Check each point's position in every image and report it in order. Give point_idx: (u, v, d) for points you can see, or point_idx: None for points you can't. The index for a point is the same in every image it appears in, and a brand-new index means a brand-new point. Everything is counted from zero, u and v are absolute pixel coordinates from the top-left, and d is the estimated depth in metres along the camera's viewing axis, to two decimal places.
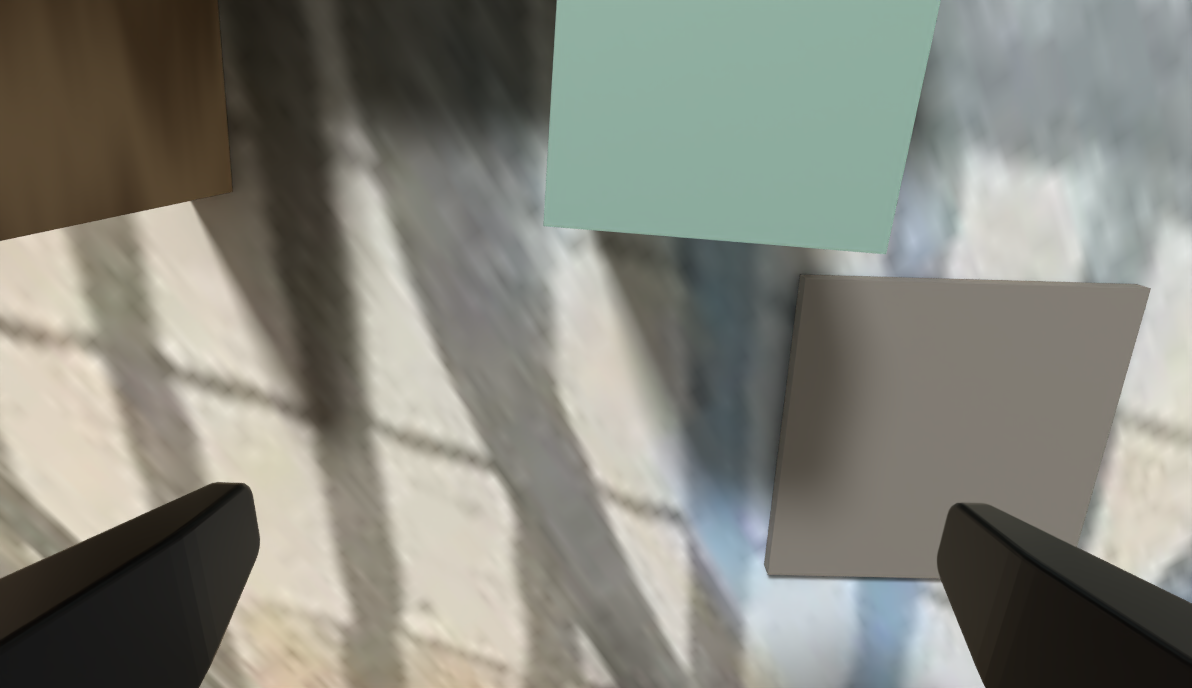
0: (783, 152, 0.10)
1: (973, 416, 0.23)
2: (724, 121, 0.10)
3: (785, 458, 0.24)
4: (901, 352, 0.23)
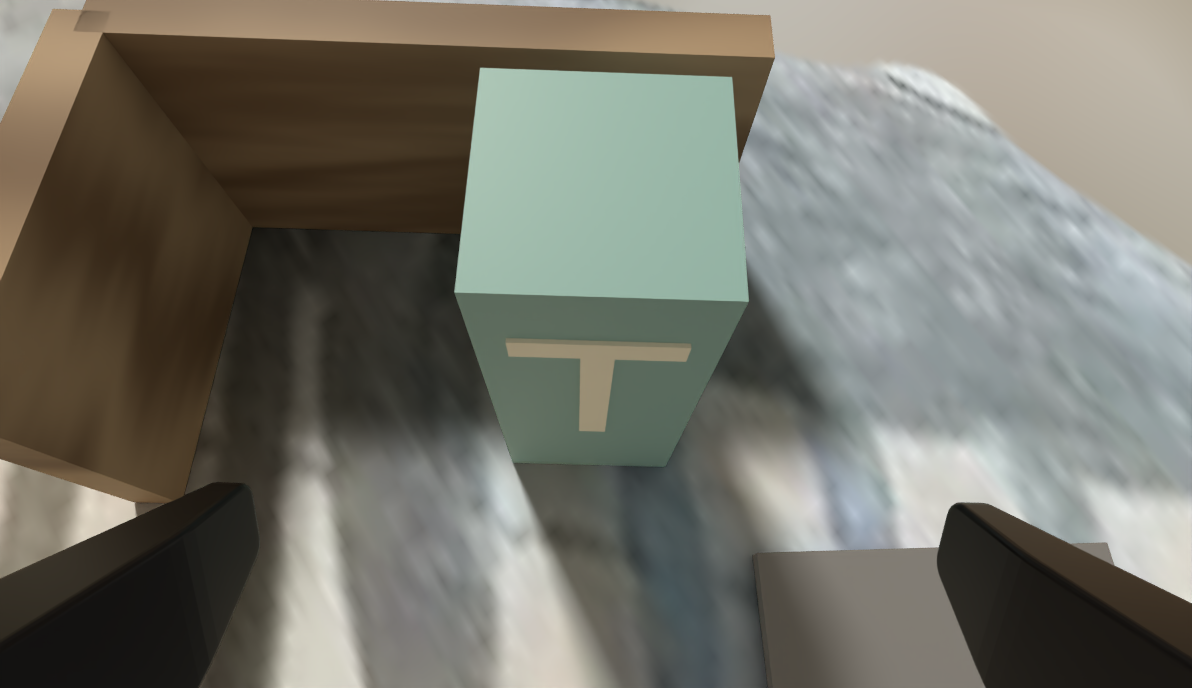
0: (646, 233, 0.12)
1: None
2: (597, 215, 0.12)
3: None
4: (882, 632, 0.20)
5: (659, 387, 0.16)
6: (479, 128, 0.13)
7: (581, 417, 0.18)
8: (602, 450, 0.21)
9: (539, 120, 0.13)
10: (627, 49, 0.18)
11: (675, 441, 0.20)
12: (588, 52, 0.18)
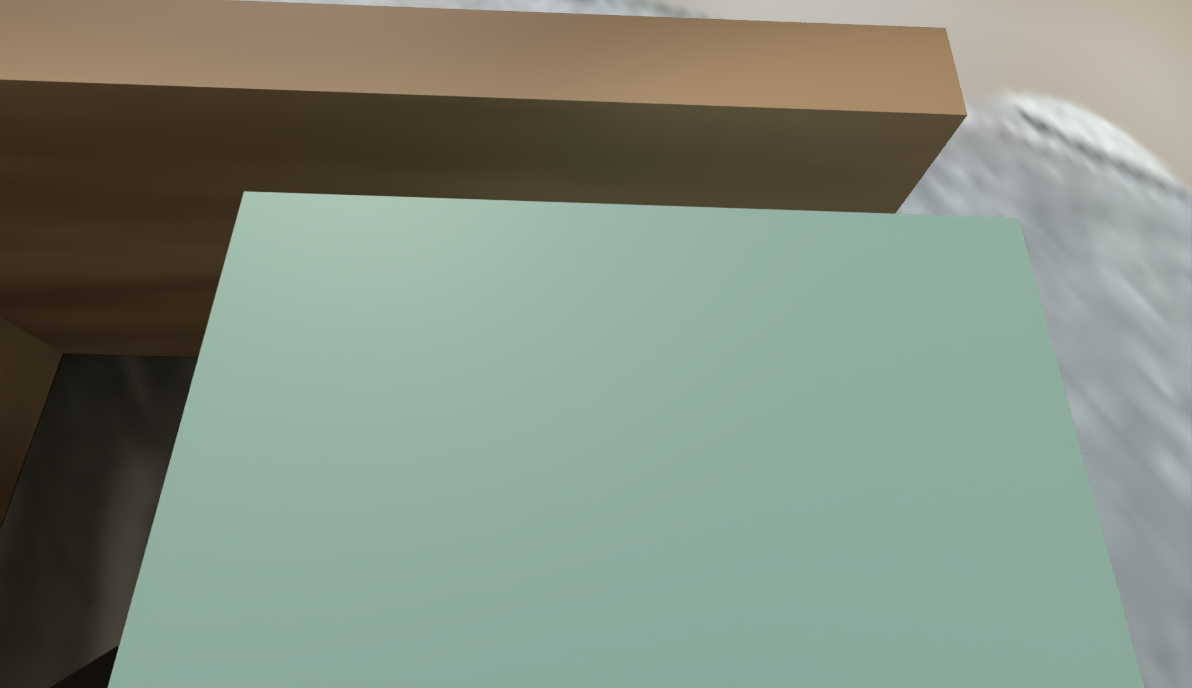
0: None
1: None
2: None
3: None
4: None
5: None
6: (201, 419, 0.04)
7: None
8: None
9: (413, 382, 0.04)
10: (663, 98, 0.09)
11: None
12: (583, 104, 0.09)
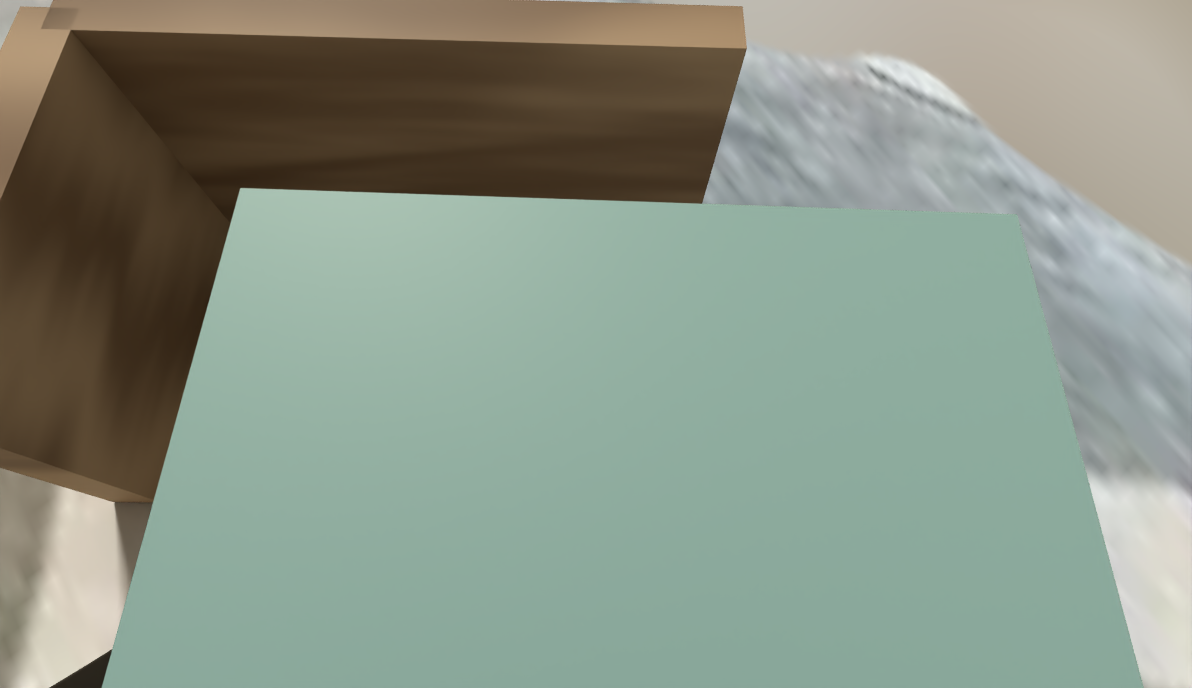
0: None
1: None
2: None
3: None
4: None
5: None
6: (196, 416, 0.04)
7: None
8: None
9: (410, 379, 0.04)
10: (599, 41, 0.18)
11: None
12: (560, 45, 0.18)
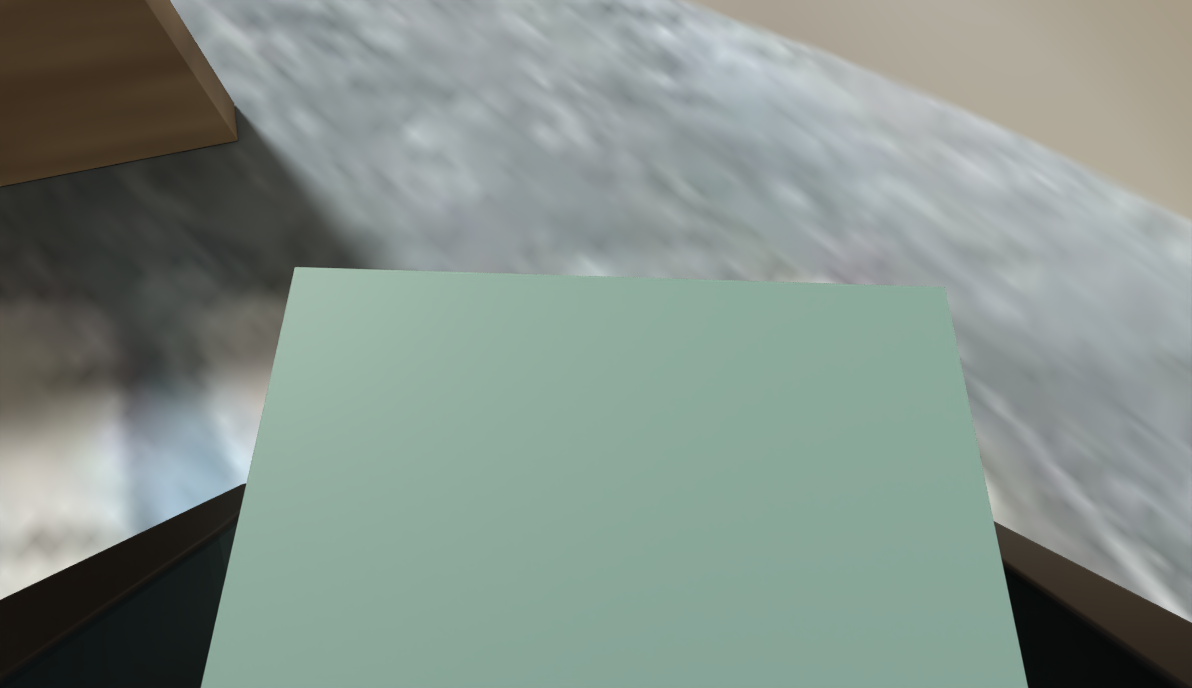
0: None
1: None
2: None
3: None
4: None
5: None
6: (268, 463, 0.05)
7: None
8: None
9: (440, 431, 0.05)
10: None
11: None
12: None
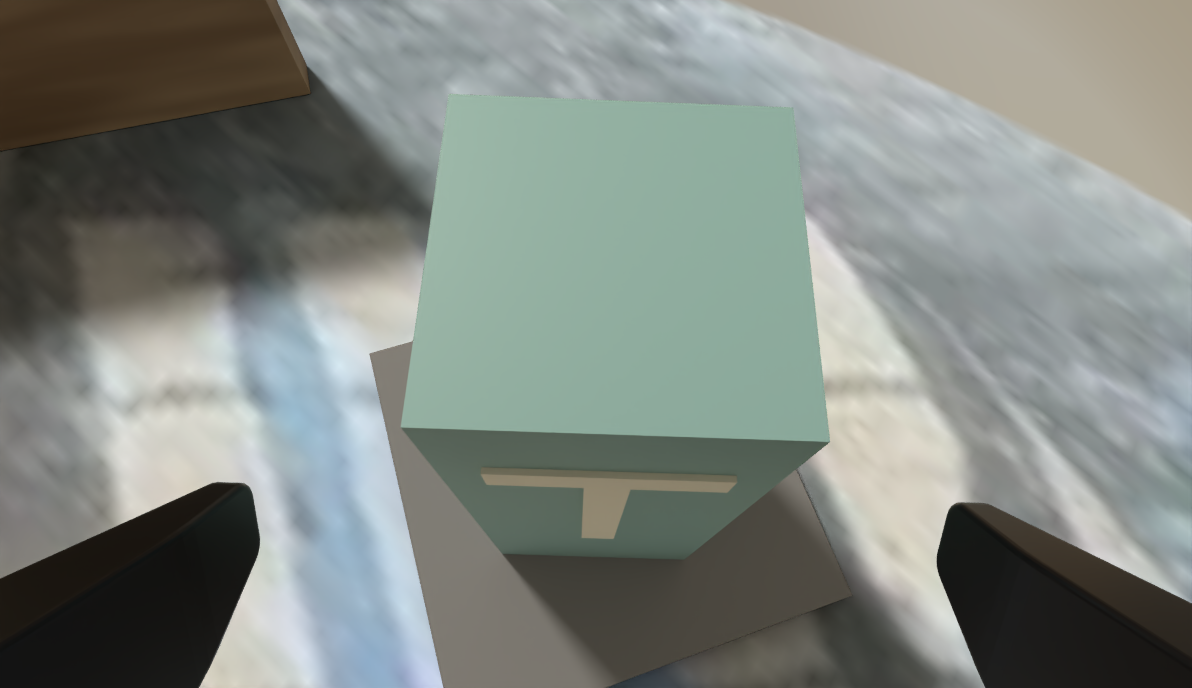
0: (679, 335, 0.09)
1: None
2: (608, 308, 0.09)
3: (417, 554, 0.19)
4: None
5: (687, 507, 0.12)
6: (445, 180, 0.09)
7: (584, 529, 0.14)
8: (610, 548, 0.17)
9: (528, 168, 0.10)
10: None
11: (699, 544, 0.16)
12: None
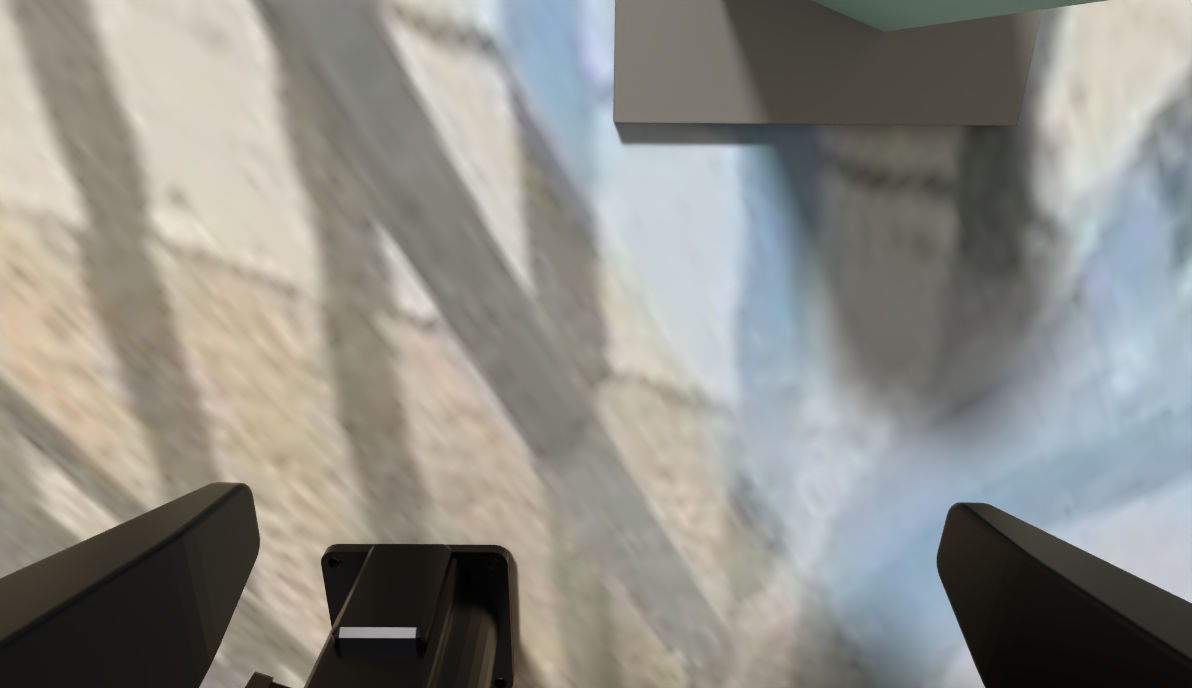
0: None
1: None
2: None
3: None
4: None
5: None
6: None
7: None
8: None
9: None
10: None
11: (935, 22, 0.15)
12: None
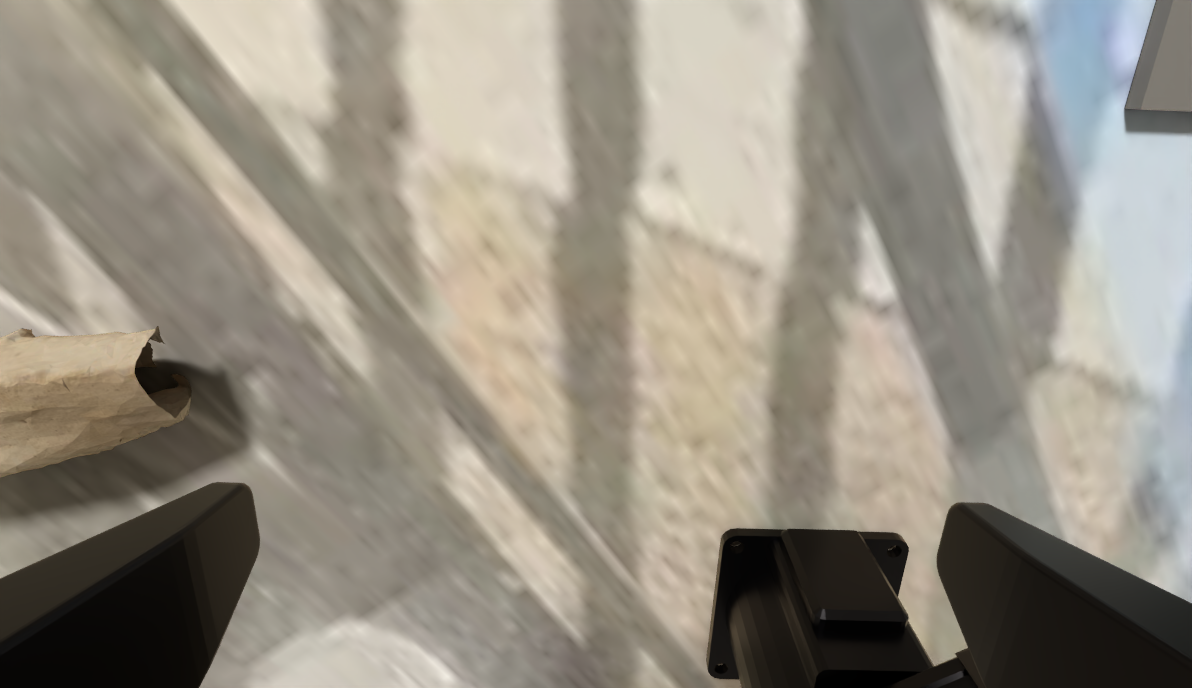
0: None
1: None
2: None
3: None
4: None
5: None
6: None
7: None
8: None
9: None
10: None
11: None
12: None
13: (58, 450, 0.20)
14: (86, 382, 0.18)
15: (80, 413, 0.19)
